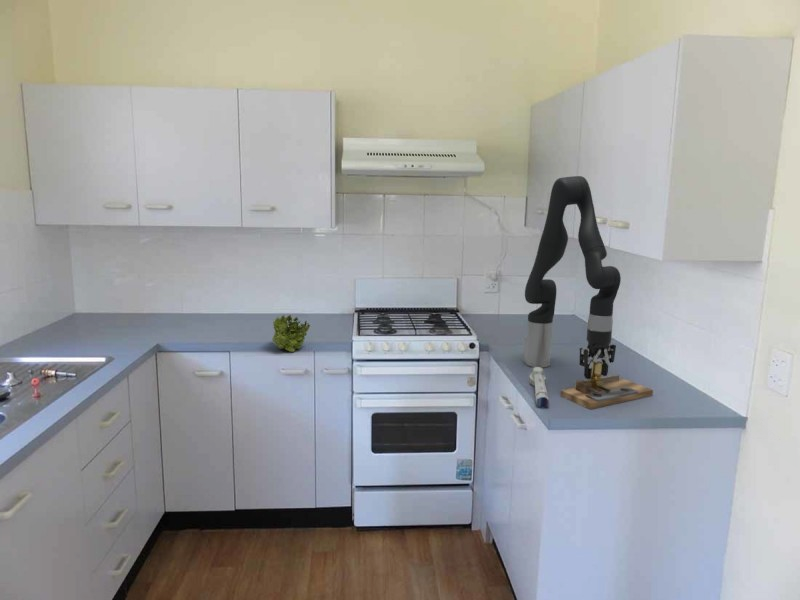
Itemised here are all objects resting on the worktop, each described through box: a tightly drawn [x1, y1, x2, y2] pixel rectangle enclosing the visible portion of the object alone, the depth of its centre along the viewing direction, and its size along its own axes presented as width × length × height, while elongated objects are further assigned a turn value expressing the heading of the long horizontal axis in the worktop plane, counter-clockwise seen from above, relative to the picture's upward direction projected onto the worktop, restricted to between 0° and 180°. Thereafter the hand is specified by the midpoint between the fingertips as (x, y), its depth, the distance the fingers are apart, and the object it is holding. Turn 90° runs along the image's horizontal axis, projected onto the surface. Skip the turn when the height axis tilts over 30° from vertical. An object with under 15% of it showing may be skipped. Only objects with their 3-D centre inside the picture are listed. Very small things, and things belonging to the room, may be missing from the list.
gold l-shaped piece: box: [586, 360, 610, 392], centre depth 185 cm, size 8×3×9 cm, turn 27°
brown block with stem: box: [575, 379, 599, 394], centre depth 183 cm, size 8×3×3 cm, turn 27°
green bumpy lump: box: [272, 314, 311, 353], centre depth 235 cm, size 18×16×16 cm
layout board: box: [560, 374, 654, 410], centre depth 186 cm, size 13×28×4 cm, turn 117°
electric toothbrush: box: [529, 367, 550, 409], centre depth 187 cm, size 5×7×25 cm
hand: (595, 376), depth 186 cm, fingers open, 6 cm apart
